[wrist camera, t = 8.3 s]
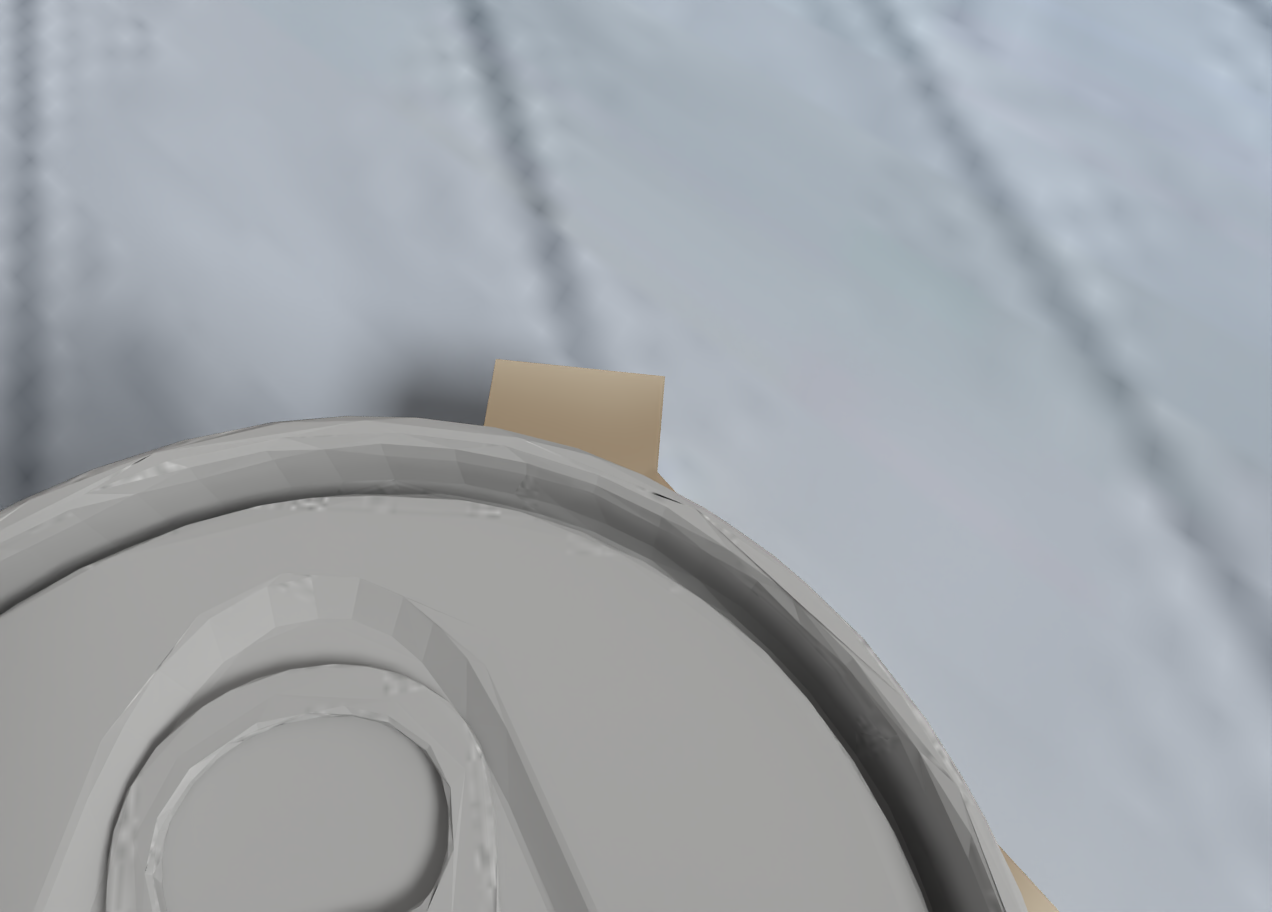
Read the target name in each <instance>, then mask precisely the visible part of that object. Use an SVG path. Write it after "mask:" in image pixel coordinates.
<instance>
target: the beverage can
mask: <svg viewBox="0 0 1272 912" xmlns="http://www.w3.org/2000/svg"><path fill="white" fill-rule="evenodd" d="M0 912H1028V911H1027V908H1026V905H1025V902H1024V899H1023V897H1022V894H1021V892H1020V890H1019V887H1018V885H1017V883H1016V881H1015V879H1014V877H1013V875H1012V873H1011V871H1010V869H1009V867H1008V865H1007V862H1006V860H1005V858H1004V856H1003V854H1002V852H1001V850H1000V848H999V846H998V844H997V842H996V840H995V837H994V835H993V833H992V831H991V829H990V827H989V825H988V823H987V821H986V819H985V817H984V815H983V813H982V812H981V810H980V808H979V806H978V804H977V802H976V801H975V799H974V797H973V795H972V793H971V792H970V790H969V788H968V786H967V784H966V783H965V781H964V779H963V777H962V776H961V774H960V772H959V771H958V769H957V768H956V766H955V764H954V763H953V761H952V760H951V758H950V756H949V755H948V753H947V752H946V750H945V748H944V747H943V745H942V744H941V742H940V740H939V739H938V737H937V736H936V734H935V732H934V731H933V729H932V728H931V726H930V724H929V723H928V721H927V720H926V718H925V717H924V715H923V714H922V713H921V712H920V710H919V709H918V708H917V706H916V705H915V704H914V703H913V701H912V700H911V699H910V698H909V696H908V695H907V694H906V692H905V691H904V690H903V689H902V687H901V686H900V685H899V683H898V682H897V681H896V680H895V678H894V677H893V676H892V674H891V673H890V672H889V671H888V669H887V668H886V667H885V665H884V664H883V663H882V662H881V660H880V659H879V658H878V657H877V655H876V654H875V653H874V651H873V650H872V649H871V648H870V646H869V645H868V644H867V642H866V641H865V640H864V639H863V638H862V637H861V636H860V635H859V634H858V633H857V632H856V631H855V630H854V629H853V628H852V627H851V626H850V625H849V624H848V623H847V622H846V621H845V620H844V619H843V618H842V617H841V616H840V615H839V614H838V613H837V612H835V611H834V610H833V609H832V608H831V607H830V606H829V605H828V604H827V603H826V602H825V601H824V600H823V599H822V598H821V597H820V596H819V595H818V594H817V593H816V592H815V591H814V590H813V589H812V588H811V587H810V586H809V585H808V584H806V583H805V582H804V581H803V580H802V579H801V578H799V577H798V576H797V575H796V574H795V573H794V572H792V571H791V570H790V569H789V568H788V567H787V566H785V565H784V564H783V563H782V562H781V561H780V560H778V559H777V558H776V557H775V556H774V555H772V554H771V553H769V552H768V551H767V550H765V549H764V548H762V547H761V546H760V545H758V544H757V543H755V542H754V541H752V540H751V539H750V538H748V537H747V536H745V535H744V534H743V533H741V532H740V531H738V530H737V529H735V528H734V527H733V526H731V525H730V524H728V523H727V522H725V521H724V520H722V519H721V518H719V517H718V516H716V515H715V514H713V513H712V512H710V511H708V510H707V509H705V508H704V507H702V506H700V505H698V504H696V503H694V502H692V501H691V500H689V499H687V498H685V497H683V496H681V495H679V494H678V493H676V492H674V491H672V490H670V489H668V488H666V487H665V486H663V485H661V484H659V483H657V482H655V481H653V480H652V479H650V478H648V477H646V476H644V475H642V474H640V473H637V472H635V471H632V470H630V469H627V468H625V467H622V466H620V465H617V464H615V463H613V462H610V461H608V460H605V459H603V458H600V457H598V456H595V455H593V454H590V453H588V452H586V451H583V450H581V449H578V448H574V447H570V446H566V445H563V444H559V443H555V442H551V441H547V440H543V439H539V438H535V437H531V436H527V435H523V434H519V433H515V432H511V431H507V430H503V429H500V428H495V427H488V426H480V425H472V424H464V423H456V422H448V421H441V420H432V419H424V418H416V417H362V416H342V417H330V418H318V419H306V420H294V421H282V422H272V423H267V424H262V425H257V426H252V427H247V428H242V429H237V430H232V431H228V432H223V433H218V434H213V435H208V436H203V437H198V438H193V439H188V440H183V441H180V442H177V443H173V444H170V445H167V446H164V447H161V448H158V449H155V450H152V451H148V452H145V453H142V454H139V455H136V456H133V457H130V458H127V459H124V460H120V461H117V462H114V463H111V464H108V465H105V466H102V467H99V468H95V469H93V470H90V471H88V472H86V473H83V474H81V475H79V476H76V477H74V478H72V479H69V480H67V481H65V482H63V483H60V484H58V485H56V486H53V487H51V488H49V489H46V490H44V491H42V492H39V493H37V494H35V495H32V496H30V497H28V498H25V499H23V500H21V501H18V502H16V503H15V504H13V505H11V506H9V507H7V508H5V509H3V510H2V511H0Z"/></svg>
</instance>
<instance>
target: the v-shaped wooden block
mask: <svg viewBox="0 0 1272 912" xmlns="http://www.w3.org/2000/svg"><path fill="white" fill-rule="evenodd" d="M664 381H665V376H656V375H646V374H636V373H626V372H617V371H607V370H597V369H588V368H578V367H568V366H558V365H549V364H539V363H529V362H520V361H510V360H500V359H496V362H495V367H494V372H493V378H492V383H491V389H490V394H489V400H488V405H487V411H486V416H485V422H484V426H488V427H495V428H500V429H503V430H507V431H511V432H515V433H519V434H523V435H527V436H531V437H535V438H539V439H543V440H547V441H551V442H555V443H559V444H563V445H566V446H570V447H574V448H578V449H581V450H583V451H586V452H588V453H590V454H593V455H595V456H598V457H600V458H603V459H605V460H608V461H610V462H613V463H615V464H617V465H620V466H622V467H625V468H627V469H630V470H632V471H635V472H637V473H640V474H642V475H644V476H646V477H648V478H650V479H652V480H653V481H655V482H657V483H659V484H661V485H663V486H665V487H666V488H668V489H670V490H672V491H674V490H673V489H672V488H671V487H670V485H669V484H668V483H667V482H666V481H665V480H664V479H663V478H662V477H661V476H660V474H659V473H658V472H657V467H658V455H659V443H660V431H661V418H662V406H663V394H664ZM674 492H675V491H674ZM998 846H999V845H998ZM999 848H1000V850H1001V852H1002V854H1003V856H1004V858H1005V860H1006V862H1007V865H1008V867H1009V869H1010V871H1011V873H1012V875H1013V877H1014V879H1015V881H1016V883H1017V885H1018V887H1019V890H1020V892H1021V894H1022V897H1023V899H1024V902H1025V905H1026V908H1027V911H1028V912H1059V911H1058V910H1057V908H1056V907H1055V906H1054V905H1053V904H1052V903H1051V902H1050V901H1049V900H1048V899H1047V898H1046V896H1045V895H1044V894H1043V893H1042V892H1041V891H1040V890H1039V889H1038V888H1037V887H1036V886H1035V884H1034V883H1033V882H1032V881H1031V880H1030V879H1029V878H1028V877H1027V876H1026V875H1025V873H1024V872H1023V871H1022V870H1021V869H1020V868H1019V867H1018V866H1017V865H1016V864H1015V863H1014V861H1013V860H1012V859H1011V858H1010V857H1009V856H1008V855H1007V854H1006V853H1005V852H1004V851H1003V849H1002V848H1001V847H1000V846H999Z"/></svg>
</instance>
